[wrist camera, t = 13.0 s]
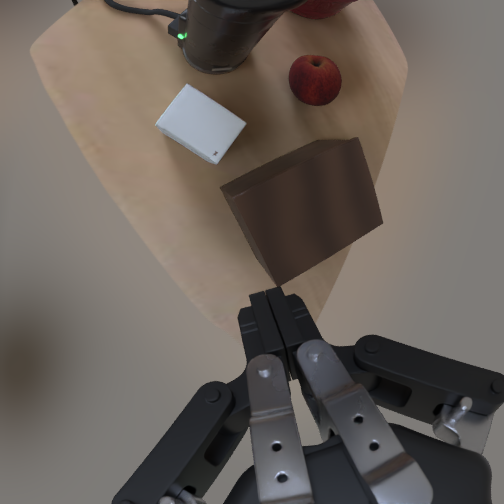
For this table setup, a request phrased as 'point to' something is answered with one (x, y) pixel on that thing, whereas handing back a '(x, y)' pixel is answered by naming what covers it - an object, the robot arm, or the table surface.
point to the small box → (200, 124)
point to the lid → (310, 210)
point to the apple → (315, 80)
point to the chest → (266, 172)
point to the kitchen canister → (321, 8)
